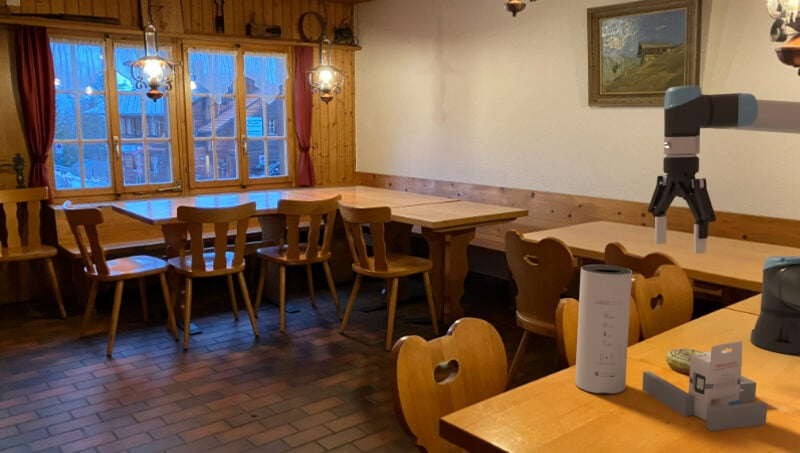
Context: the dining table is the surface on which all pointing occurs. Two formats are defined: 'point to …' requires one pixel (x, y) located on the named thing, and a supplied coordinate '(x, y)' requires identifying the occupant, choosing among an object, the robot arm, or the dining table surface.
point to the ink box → (715, 378)
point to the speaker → (603, 328)
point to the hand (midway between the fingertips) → (679, 248)
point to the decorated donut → (680, 359)
